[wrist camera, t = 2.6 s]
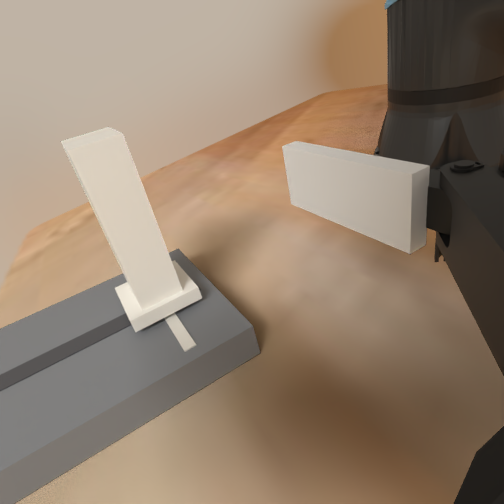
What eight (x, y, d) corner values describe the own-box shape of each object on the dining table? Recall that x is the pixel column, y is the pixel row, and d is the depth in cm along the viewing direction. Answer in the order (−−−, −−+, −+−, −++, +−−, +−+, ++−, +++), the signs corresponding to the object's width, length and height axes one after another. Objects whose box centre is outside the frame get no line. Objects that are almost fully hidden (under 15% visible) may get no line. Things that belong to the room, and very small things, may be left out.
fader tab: (178, 270, 30) (122, 121, 24) (202, 298, 26) (142, 128, 20) (119, 298, 28) (42, 145, 22) (135, 332, 24) (47, 158, 18)
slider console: (186, 270, 35) (177, 247, 34) (260, 353, 24) (252, 324, 23) (-105, 408, 27) (-130, 386, 26) (-190, 628, 16) (-242, 608, 15)
